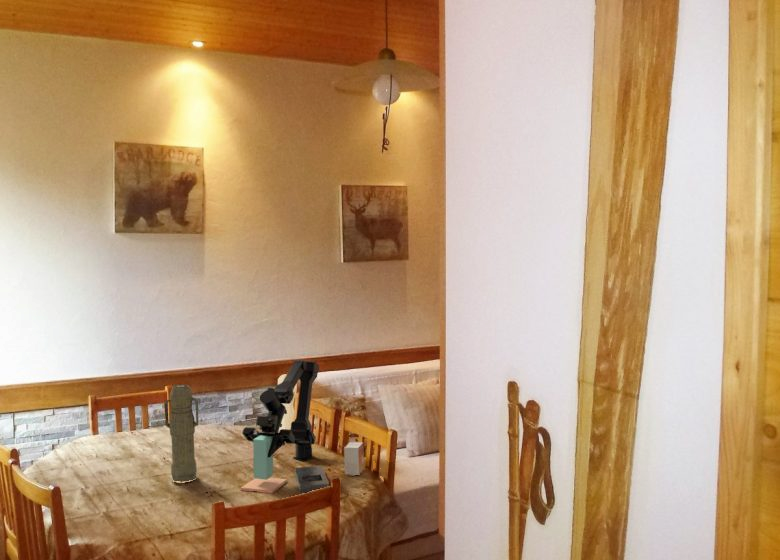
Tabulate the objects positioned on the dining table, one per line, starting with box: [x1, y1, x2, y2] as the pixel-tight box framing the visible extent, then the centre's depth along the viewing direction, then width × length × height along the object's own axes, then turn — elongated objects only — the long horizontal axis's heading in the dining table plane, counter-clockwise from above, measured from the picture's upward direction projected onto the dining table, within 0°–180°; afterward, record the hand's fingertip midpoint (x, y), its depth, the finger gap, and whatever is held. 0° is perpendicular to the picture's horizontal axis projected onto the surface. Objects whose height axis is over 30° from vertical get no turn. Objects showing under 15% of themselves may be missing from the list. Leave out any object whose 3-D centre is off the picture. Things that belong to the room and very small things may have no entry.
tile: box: [240, 477, 288, 494], centre depth 250 cm, size 12×12×1 cm
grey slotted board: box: [294, 465, 330, 494], centre depth 253 cm, size 21×10×2 cm, turn 13°
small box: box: [343, 441, 365, 476], centre depth 263 cm, size 8×6×10 cm
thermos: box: [163, 384, 199, 482], centre depth 259 cm, size 9×12×35 cm
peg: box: [252, 435, 274, 480], centre depth 250 cm, size 5×5×14 cm
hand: (261, 456), depth 248 cm, fingers closed on peg, 5 cm apart
